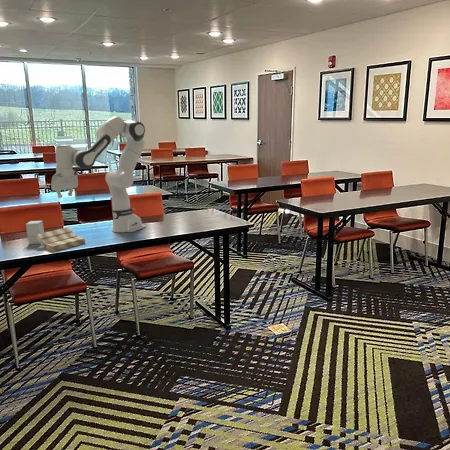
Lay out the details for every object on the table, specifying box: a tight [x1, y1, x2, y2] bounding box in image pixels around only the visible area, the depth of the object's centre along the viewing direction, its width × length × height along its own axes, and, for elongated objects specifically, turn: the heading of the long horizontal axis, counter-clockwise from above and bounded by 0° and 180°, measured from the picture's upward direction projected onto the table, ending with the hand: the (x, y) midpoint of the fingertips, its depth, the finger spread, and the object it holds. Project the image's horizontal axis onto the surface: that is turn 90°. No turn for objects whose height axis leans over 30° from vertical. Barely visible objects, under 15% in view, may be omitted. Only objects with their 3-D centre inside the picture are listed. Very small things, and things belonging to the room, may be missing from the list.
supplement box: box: [25, 220, 45, 245], centre depth 249 cm, size 7×7×13 cm
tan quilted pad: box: [37, 226, 77, 249], centre depth 245 cm, size 20×9×3 cm
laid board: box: [45, 235, 86, 252], centre depth 240 cm, size 20×8×3 cm, turn 142°
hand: (65, 196), depth 244 cm, fingers open, 8 cm apart
